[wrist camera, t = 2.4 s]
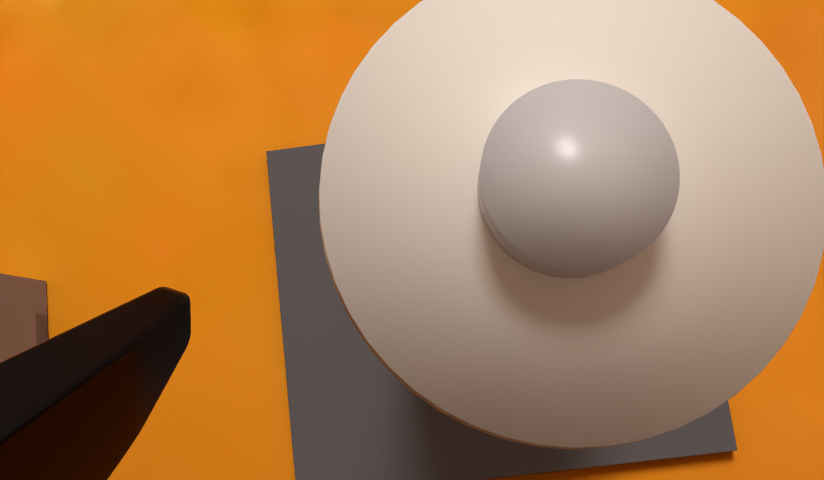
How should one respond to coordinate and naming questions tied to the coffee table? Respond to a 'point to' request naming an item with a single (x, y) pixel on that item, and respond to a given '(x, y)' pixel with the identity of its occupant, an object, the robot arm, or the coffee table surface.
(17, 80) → the coffee table surface
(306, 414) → the mat
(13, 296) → the bin
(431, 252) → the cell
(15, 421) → the robot arm
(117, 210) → the coffee table surface
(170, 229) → the coffee table surface
